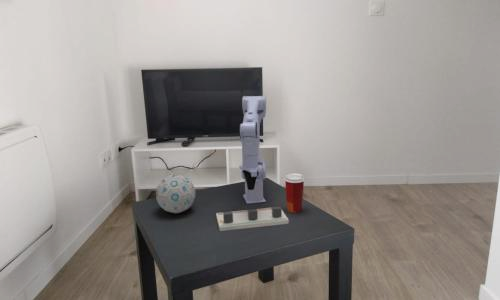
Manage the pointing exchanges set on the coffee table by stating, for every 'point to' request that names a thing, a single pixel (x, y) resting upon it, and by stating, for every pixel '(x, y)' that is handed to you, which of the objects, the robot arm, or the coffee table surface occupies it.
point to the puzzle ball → (175, 193)
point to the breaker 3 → (276, 211)
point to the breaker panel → (243, 222)
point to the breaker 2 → (252, 214)
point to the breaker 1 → (228, 217)
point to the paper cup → (294, 192)
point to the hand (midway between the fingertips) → (250, 189)
